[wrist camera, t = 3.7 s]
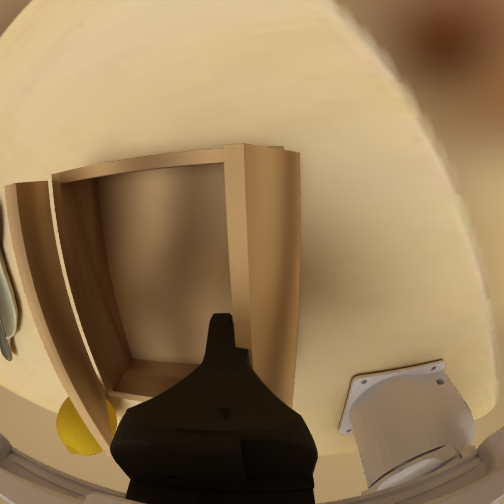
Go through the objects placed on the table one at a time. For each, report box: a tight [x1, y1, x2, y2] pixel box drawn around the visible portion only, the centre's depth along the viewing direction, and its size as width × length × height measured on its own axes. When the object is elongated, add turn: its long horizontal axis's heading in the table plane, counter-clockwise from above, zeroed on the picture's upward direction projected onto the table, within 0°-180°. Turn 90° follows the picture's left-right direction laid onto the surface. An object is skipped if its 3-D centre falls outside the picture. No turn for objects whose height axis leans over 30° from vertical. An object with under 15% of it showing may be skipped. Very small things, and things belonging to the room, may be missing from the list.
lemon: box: [56, 397, 117, 456], centre depth 19 cm, size 6×6×8 cm
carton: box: [52, 146, 284, 402], centre depth 16 cm, size 12×15×4 cm
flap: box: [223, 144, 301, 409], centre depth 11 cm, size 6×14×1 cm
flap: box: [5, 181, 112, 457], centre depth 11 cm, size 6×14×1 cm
